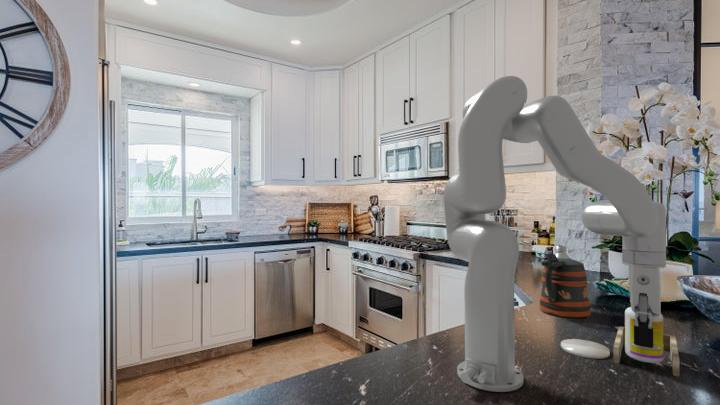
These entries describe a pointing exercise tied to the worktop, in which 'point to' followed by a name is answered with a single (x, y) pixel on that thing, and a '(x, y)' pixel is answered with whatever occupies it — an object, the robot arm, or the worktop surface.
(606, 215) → the robot arm
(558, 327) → the worktop surface
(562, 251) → the plastic bottle
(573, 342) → the disc
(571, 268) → the beer stein
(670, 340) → the frame
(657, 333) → the supplement bottle
